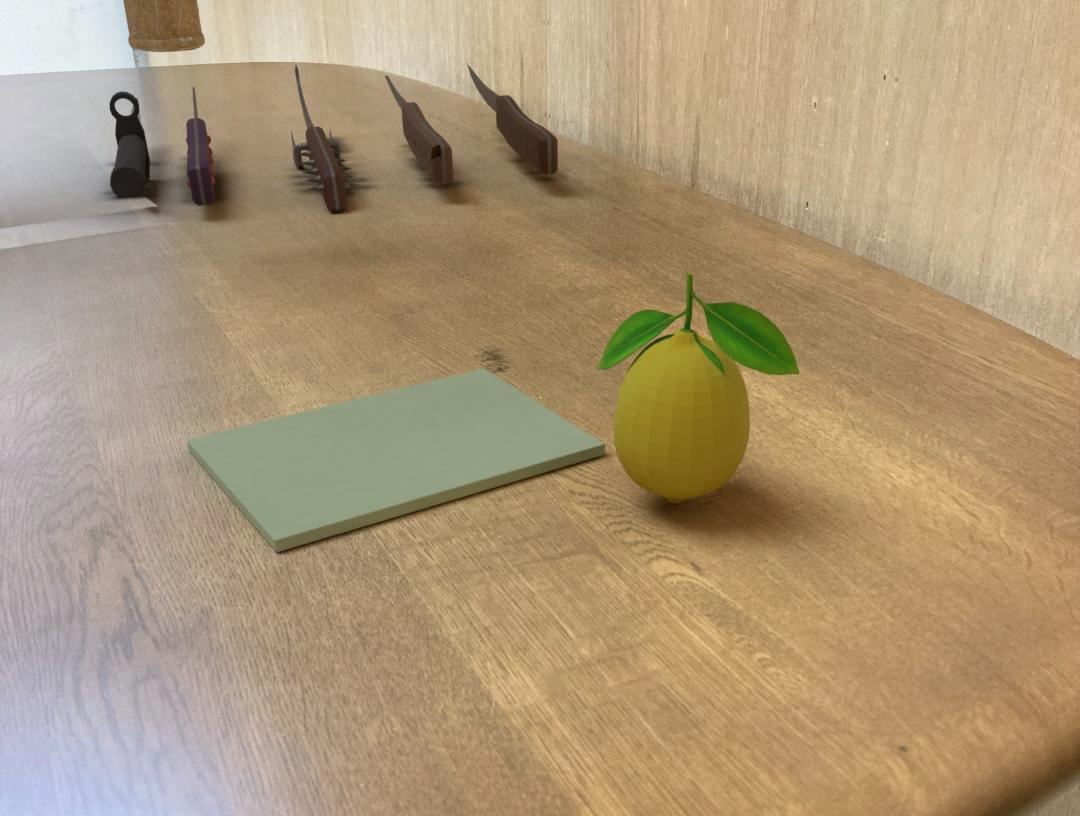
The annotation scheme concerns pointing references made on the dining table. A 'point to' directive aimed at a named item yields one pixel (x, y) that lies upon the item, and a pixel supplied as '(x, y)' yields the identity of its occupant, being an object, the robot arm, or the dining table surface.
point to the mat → (387, 455)
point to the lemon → (690, 394)
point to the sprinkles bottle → (163, 25)
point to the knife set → (326, 148)
